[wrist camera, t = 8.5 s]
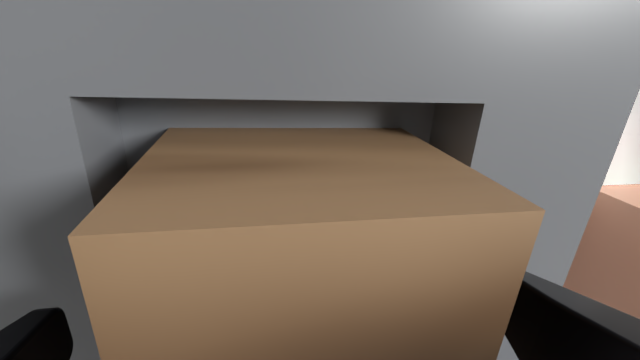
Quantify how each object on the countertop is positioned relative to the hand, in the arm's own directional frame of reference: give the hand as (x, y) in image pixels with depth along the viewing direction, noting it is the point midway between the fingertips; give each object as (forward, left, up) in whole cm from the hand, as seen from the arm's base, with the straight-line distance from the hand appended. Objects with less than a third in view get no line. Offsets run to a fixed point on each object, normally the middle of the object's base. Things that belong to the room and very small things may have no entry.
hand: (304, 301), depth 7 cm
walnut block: (0, 0, -3) cm, 3 cm away
